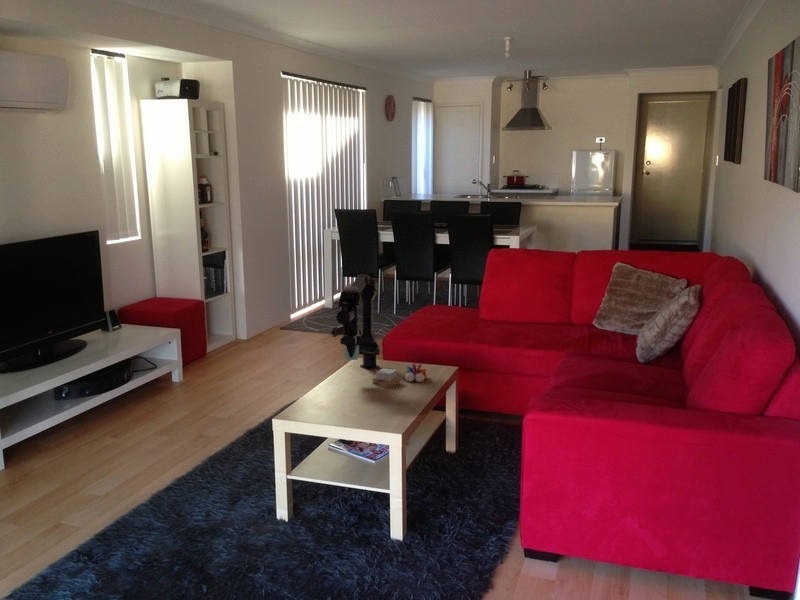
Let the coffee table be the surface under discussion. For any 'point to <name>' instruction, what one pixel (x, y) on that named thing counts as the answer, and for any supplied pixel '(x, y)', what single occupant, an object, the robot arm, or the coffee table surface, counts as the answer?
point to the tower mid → (386, 374)
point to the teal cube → (355, 355)
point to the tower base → (386, 382)
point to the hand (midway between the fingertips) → (352, 355)
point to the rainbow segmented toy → (415, 374)
